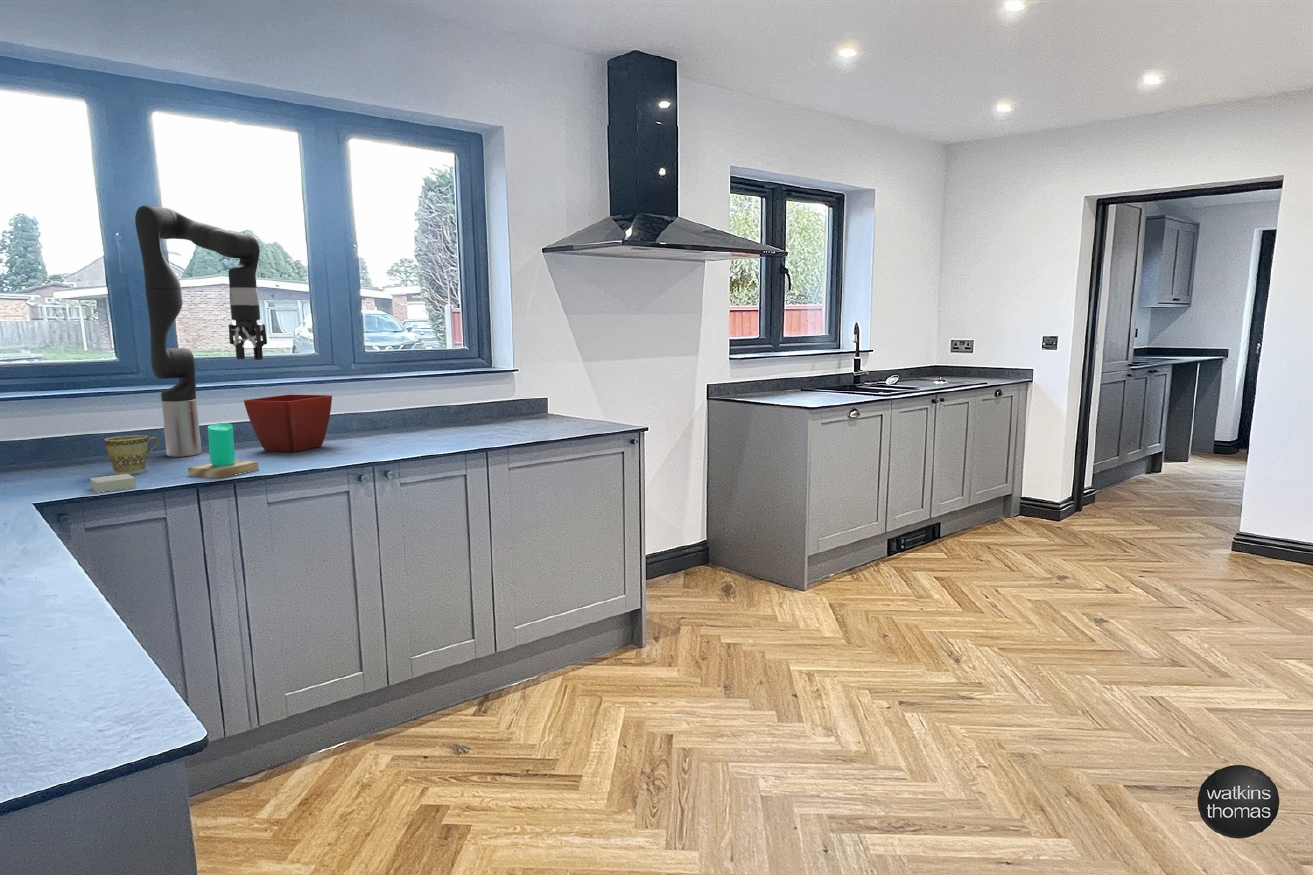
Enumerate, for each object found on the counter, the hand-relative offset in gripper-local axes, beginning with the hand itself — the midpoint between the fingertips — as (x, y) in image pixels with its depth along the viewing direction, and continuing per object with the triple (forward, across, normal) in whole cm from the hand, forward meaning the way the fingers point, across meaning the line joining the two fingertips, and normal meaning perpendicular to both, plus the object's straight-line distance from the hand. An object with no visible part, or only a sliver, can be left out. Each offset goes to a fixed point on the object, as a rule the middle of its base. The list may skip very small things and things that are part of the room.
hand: (249, 359), depth 230 cm
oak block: (+31, +10, -17) cm, 37 cm away
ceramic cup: (+30, -13, -28) cm, 43 cm away
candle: (+27, +10, -17) cm, 33 cm away
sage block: (+30, +4, -42) cm, 52 cm away
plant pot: (+30, -9, +18) cm, 36 cm away
